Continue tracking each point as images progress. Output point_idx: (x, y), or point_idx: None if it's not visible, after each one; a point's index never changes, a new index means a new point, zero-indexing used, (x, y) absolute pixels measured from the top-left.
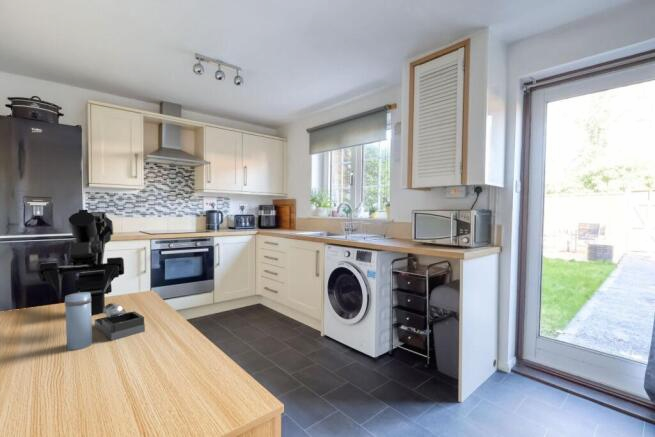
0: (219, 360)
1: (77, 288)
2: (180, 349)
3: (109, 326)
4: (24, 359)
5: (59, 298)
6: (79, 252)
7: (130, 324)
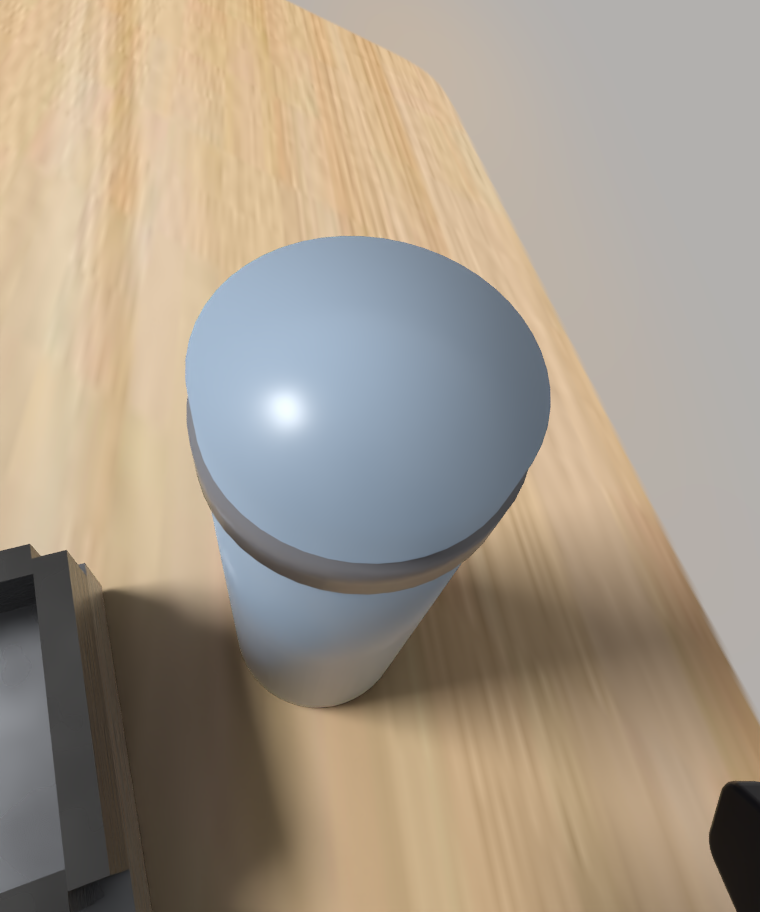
0: None
1: None
2: None
3: (76, 594)
4: (608, 587)
5: (718, 827)
6: None
7: None
